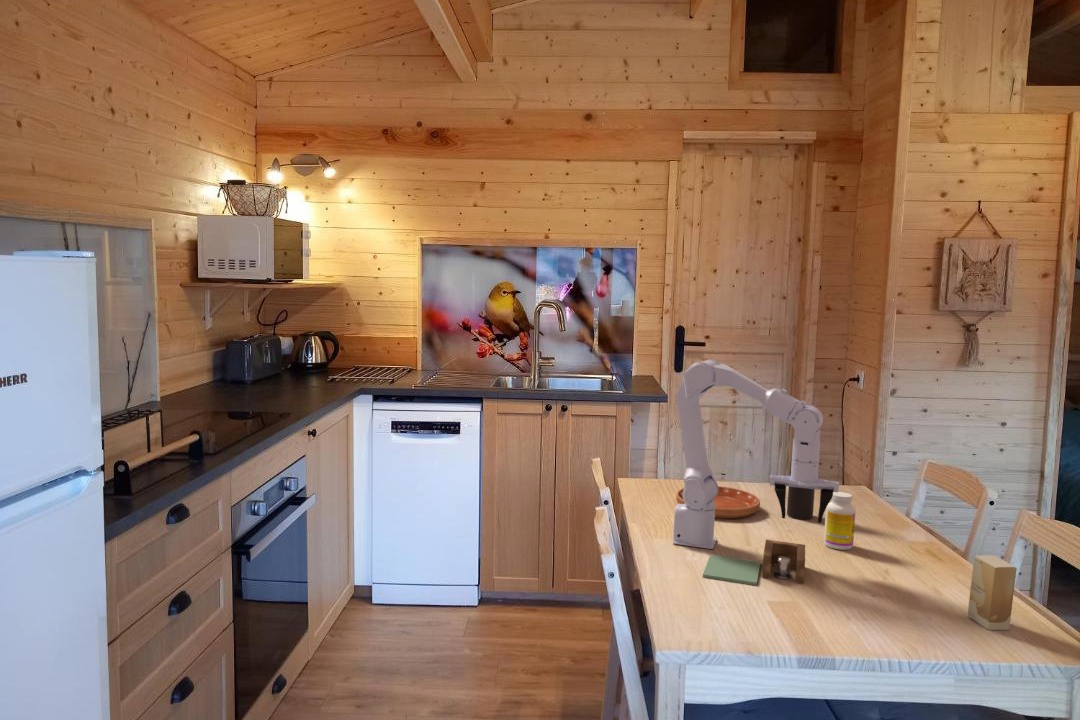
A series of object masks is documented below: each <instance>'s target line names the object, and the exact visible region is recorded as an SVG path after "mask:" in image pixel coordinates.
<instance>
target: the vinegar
mask: <svg viewBox="0 0 1080 720" xmlns="http://www.w3.org/2000/svg"><path fill="white" fill-rule="evenodd" d="M791 465H792V459H791V460H790V462H789V475H788V476H791ZM787 490H788V492H787V505H786V507H787V508H786V514H787V516H788V517H790V518H792V519H796V520H804V521H805V520H811V519H813V517H814V508H815V507H814V505H815V492H816V491H815V490H816V489H808V488H799V487H790V486H788V489H787Z"/></svg>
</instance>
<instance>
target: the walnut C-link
mask: <svg viewBox="0 0 1080 720" xmlns="http://www.w3.org/2000/svg"><path fill="white" fill-rule="evenodd" d="M779 556H785V557H788V558H790V559H791V560H790V568H794V569H795V584H799V585H800V584H802V585H805V569H806V544H803V543H794V542H789V541H788V542H787V541H779V540H771V539H765V544H764V550H763V556H762V571H761V573H762V574H761V579H768V580H770V579H771V572H772V565H775V566H777V562H778V557H779Z"/></svg>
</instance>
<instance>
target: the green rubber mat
mask: <svg viewBox="0 0 1080 720" xmlns="http://www.w3.org/2000/svg"><path fill="white" fill-rule="evenodd" d="M760 569H761V561H757V560H752V559H750V560H749V559H744V558H737V557H730V556H722V555H715V554H710V555H709V558H708V560H707V563H706V565H705V567H704V570H703V574H702V578H707V579H713V580H720V581H727V582H732V583H740V584H744V585H751V586H757V584H758V579H759V575H760Z"/></svg>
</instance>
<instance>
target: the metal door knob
mask: <svg viewBox="0 0 1080 720" xmlns="http://www.w3.org/2000/svg"><path fill="white" fill-rule="evenodd" d="M790 560H791V559H790V558H788V557H785V556H779V557H778V562H777V565H776V572H774V577H775V578H777V579H780V580H785V581H787V580H791V579H792V574H791V567H790Z"/></svg>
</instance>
